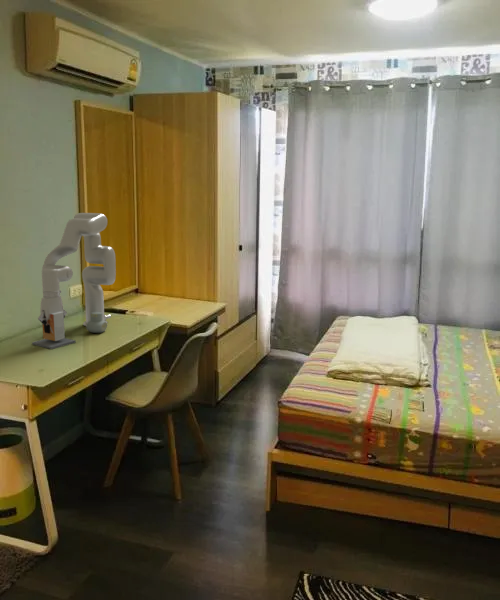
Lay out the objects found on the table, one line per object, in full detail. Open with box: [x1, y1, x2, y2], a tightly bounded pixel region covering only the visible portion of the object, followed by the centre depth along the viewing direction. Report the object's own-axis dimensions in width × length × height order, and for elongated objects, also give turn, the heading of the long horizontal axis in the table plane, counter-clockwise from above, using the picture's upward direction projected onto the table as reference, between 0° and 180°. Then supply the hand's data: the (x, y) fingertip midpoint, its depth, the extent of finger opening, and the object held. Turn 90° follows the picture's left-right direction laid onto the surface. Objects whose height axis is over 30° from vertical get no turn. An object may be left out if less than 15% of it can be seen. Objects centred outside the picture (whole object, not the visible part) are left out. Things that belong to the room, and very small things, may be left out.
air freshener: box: [85, 312, 108, 334], centre depth 304 cm, size 11×8×10 cm
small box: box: [41, 312, 66, 341], centre depth 281 cm, size 8×6×13 cm
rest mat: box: [31, 337, 77, 350], centre depth 283 cm, size 14×14×1 cm
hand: (53, 330), depth 282 cm, fingers closed on small box, 6 cm apart
